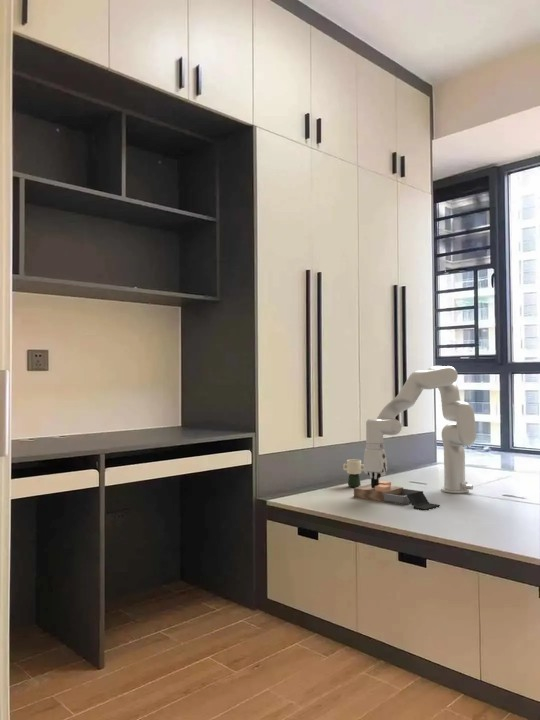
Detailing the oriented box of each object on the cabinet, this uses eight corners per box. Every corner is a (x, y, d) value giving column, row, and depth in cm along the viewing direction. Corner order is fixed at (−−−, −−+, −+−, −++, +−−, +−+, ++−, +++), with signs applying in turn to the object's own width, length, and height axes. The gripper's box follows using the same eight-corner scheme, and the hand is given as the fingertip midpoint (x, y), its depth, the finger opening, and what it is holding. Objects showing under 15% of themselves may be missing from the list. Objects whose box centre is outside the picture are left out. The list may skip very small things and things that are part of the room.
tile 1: (390, 490, 275) (390, 485, 275) (384, 492, 271) (384, 487, 271) (380, 488, 278) (380, 484, 278) (374, 490, 275) (374, 486, 275)
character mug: (366, 486, 307) (366, 459, 307) (364, 488, 300) (363, 461, 300) (344, 485, 310) (344, 459, 310) (341, 487, 304) (341, 461, 304)
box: (423, 499, 275) (423, 491, 275) (404, 505, 263) (404, 496, 263) (403, 496, 282) (403, 488, 282) (384, 501, 270) (384, 493, 270)
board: (403, 496, 282) (403, 487, 282) (384, 501, 270) (384, 492, 270) (373, 491, 293) (373, 483, 293) (353, 496, 281) (353, 488, 281)
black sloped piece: (430, 507, 251) (417, 486, 256) (417, 517, 254) (404, 495, 259) (442, 506, 260) (429, 486, 265) (428, 515, 263) (416, 495, 268)
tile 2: (391, 486, 284) (391, 481, 284) (385, 487, 281) (385, 483, 281) (381, 485, 288) (381, 480, 288) (375, 486, 284) (375, 482, 284)
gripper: (393, 447, 276) (393, 488, 275) (365, 444, 286) (365, 484, 286) (384, 448, 270) (384, 491, 270) (356, 446, 281) (356, 486, 280)
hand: (374, 487), depth 278 cm, fingers closed
